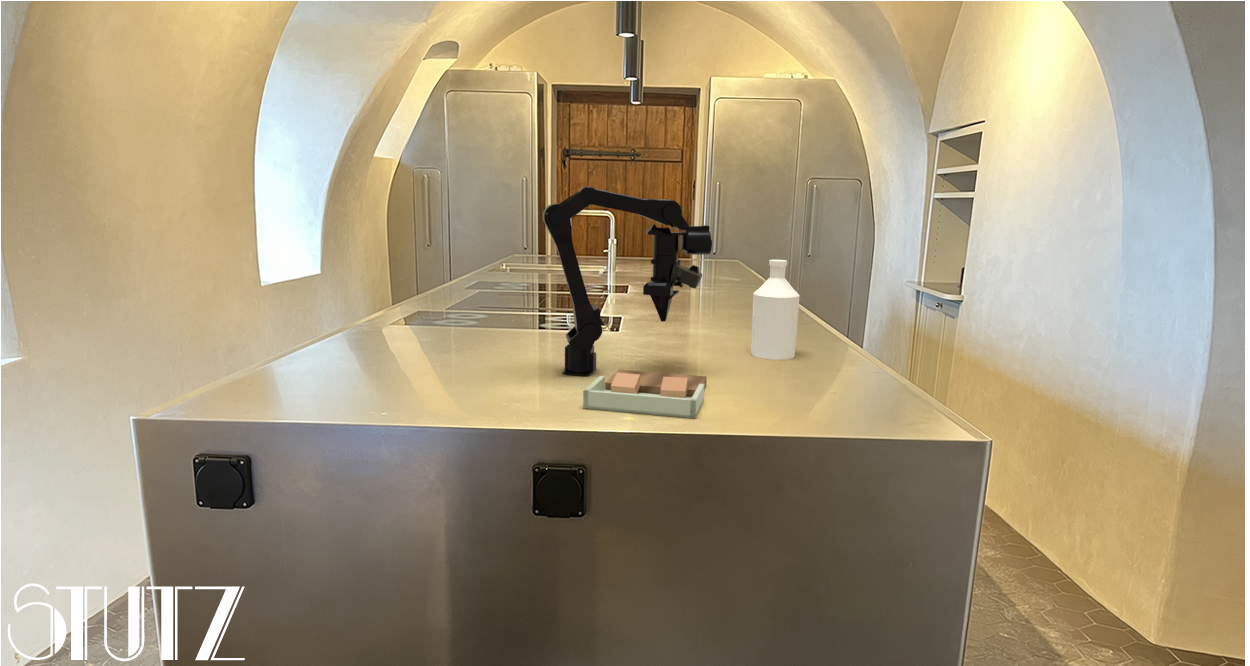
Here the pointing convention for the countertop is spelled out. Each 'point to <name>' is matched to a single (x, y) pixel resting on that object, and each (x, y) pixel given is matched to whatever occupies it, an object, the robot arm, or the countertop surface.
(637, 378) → the left tile
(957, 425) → the countertop surface
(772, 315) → the bottle
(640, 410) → the sage tray
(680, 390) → the right tile
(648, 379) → the walnut board
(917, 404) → the countertop surface
